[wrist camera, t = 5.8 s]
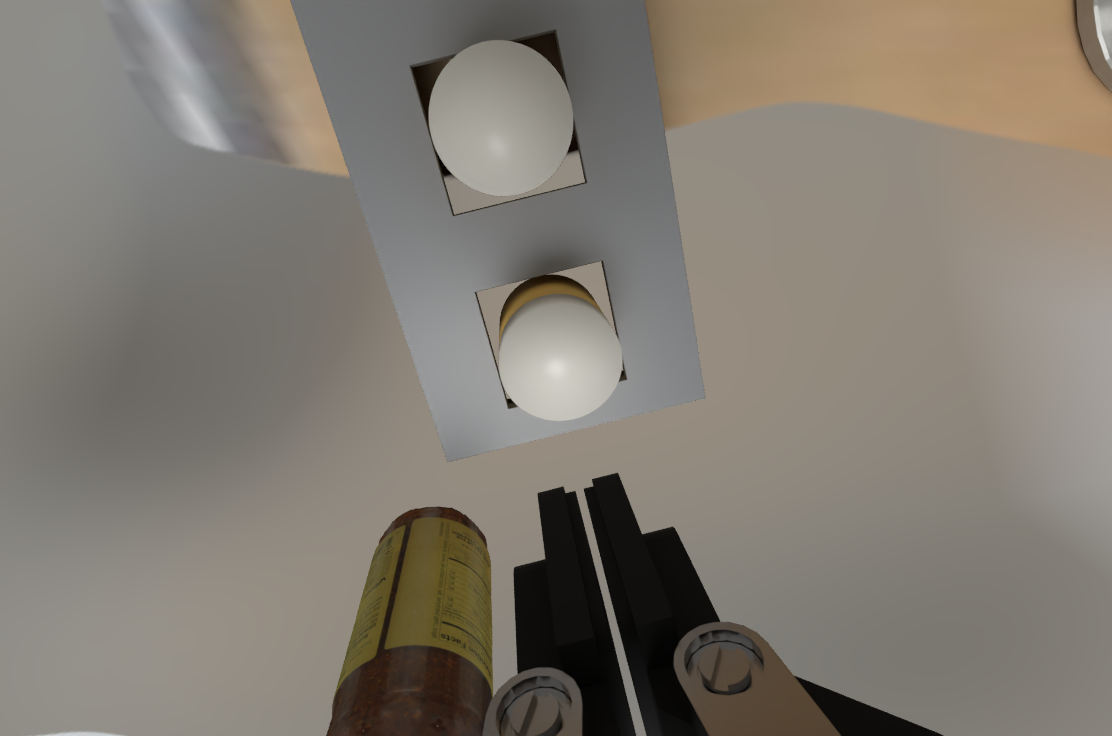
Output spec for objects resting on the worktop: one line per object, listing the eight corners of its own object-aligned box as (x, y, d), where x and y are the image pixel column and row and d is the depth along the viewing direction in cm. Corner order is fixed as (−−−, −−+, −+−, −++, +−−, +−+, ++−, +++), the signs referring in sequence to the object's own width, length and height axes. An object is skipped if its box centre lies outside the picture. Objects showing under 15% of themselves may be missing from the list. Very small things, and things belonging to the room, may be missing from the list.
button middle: (543, 53, 23) (555, 23, 18) (569, 173, 25) (586, 177, 19) (430, 81, 23) (409, 59, 18) (463, 199, 25) (452, 211, 19)
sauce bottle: (403, 604, 34) (280, 1152, 15) (360, 517, 32) (155, 1033, 13) (511, 572, 34) (520, 1086, 15) (476, 483, 32) (436, 954, 13)
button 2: (588, 263, 26) (609, 289, 21) (608, 358, 28) (632, 404, 22) (488, 288, 26) (484, 320, 21) (514, 381, 28) (516, 433, 22)
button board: (570, -287, 21) (585, -385, 17) (679, 367, 30) (705, 398, 26) (249, -207, 21) (192, -287, 17) (454, 423, 30) (447, 462, 26)
